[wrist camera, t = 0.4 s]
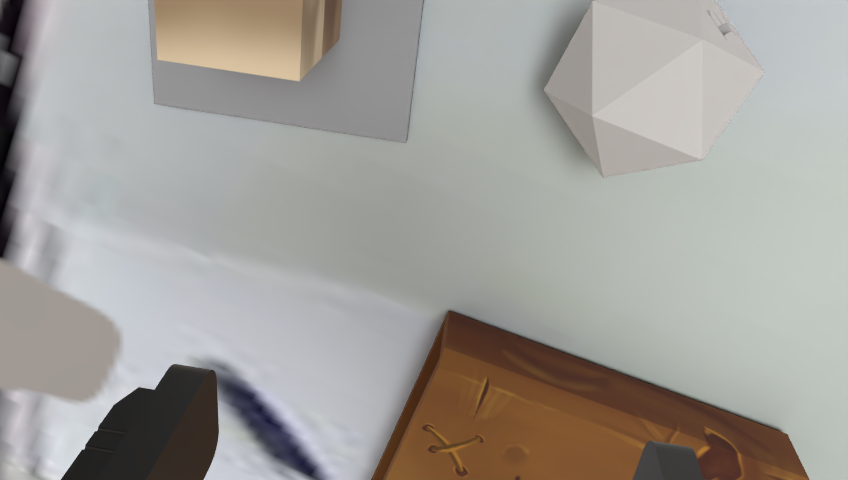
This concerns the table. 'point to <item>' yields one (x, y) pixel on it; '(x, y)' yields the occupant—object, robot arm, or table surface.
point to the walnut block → (331, 24)
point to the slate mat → (316, 78)
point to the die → (651, 82)
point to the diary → (558, 419)
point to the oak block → (242, 35)
